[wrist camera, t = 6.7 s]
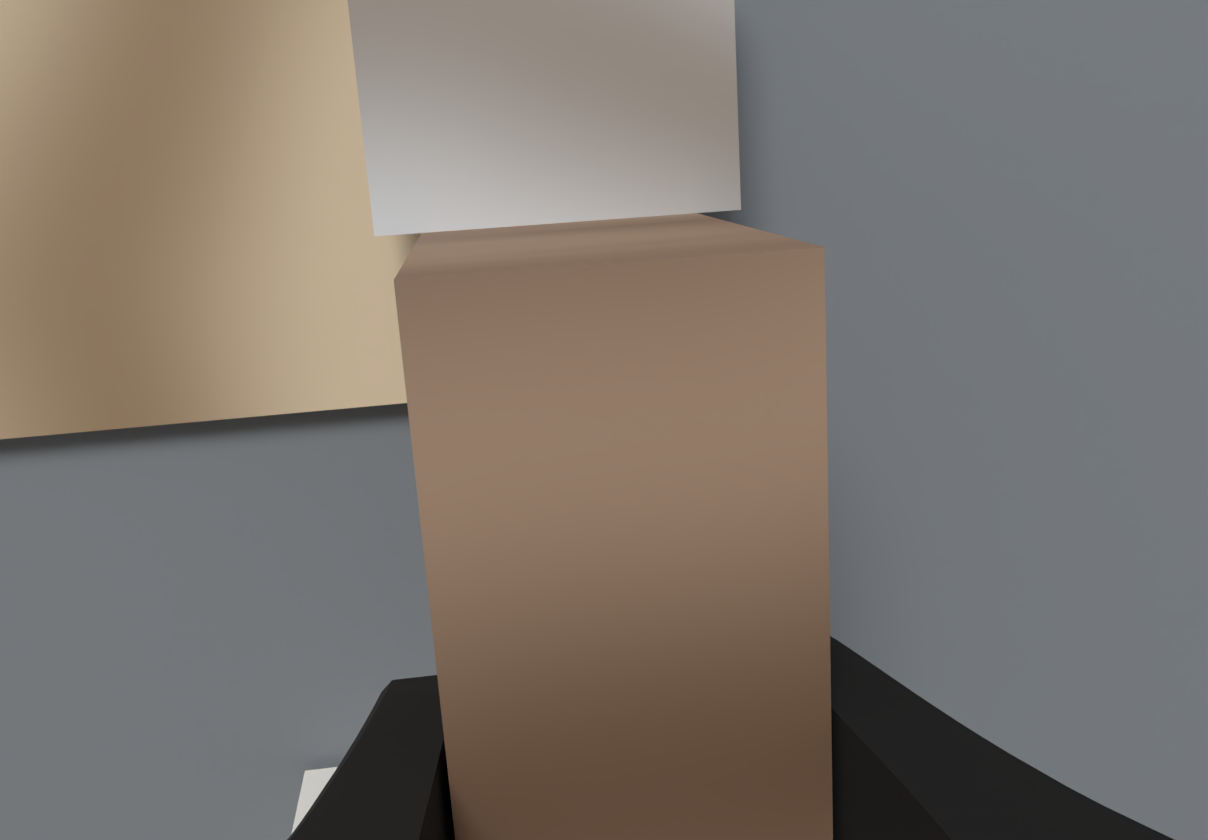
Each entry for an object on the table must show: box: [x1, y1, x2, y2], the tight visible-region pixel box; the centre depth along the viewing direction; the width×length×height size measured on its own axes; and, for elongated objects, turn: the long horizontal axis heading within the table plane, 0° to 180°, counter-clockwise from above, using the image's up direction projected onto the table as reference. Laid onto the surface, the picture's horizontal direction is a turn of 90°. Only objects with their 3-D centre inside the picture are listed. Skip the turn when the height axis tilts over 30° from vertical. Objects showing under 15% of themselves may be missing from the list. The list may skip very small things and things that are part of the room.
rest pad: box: [0, 0, 421, 439], centre depth 13 cm, size 10×6×1 cm, turn 93°
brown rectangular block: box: [347, 0, 833, 840], centre depth 11 cm, size 12×4×5 cm, turn 3°
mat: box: [0, 0, 1208, 840], centre depth 16 cm, size 24×17×1 cm
